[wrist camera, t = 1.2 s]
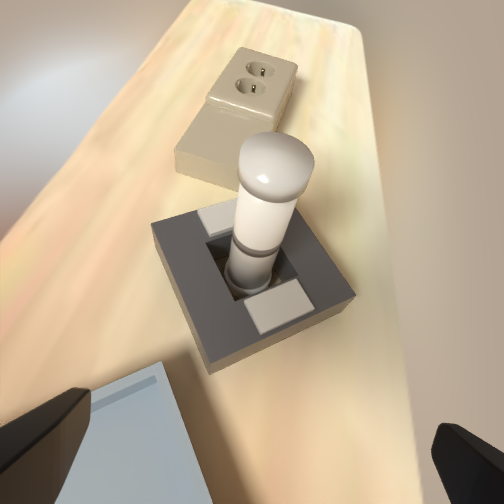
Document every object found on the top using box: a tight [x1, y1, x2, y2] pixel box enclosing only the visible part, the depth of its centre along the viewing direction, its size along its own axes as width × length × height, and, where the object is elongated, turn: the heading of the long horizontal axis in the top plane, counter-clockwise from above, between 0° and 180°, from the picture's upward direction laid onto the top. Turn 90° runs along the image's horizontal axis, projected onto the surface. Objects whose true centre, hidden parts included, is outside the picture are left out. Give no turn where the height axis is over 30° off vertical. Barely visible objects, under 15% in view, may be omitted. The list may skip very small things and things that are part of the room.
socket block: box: [151, 198, 356, 375], centre depth 25 cm, size 11×11×3 cm
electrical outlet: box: [174, 47, 298, 192], centre depth 35 cm, size 7×4×18 cm
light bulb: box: [224, 132, 314, 299], centre depth 21 cm, size 4×4×12 cm
